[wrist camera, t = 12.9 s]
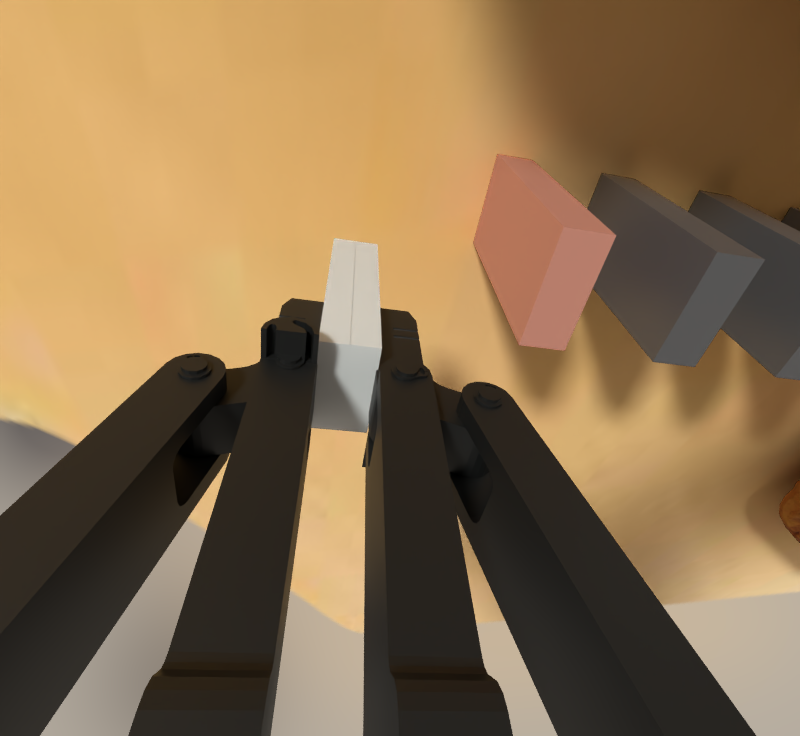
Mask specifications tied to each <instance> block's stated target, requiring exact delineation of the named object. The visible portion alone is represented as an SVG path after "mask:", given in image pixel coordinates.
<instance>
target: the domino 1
mask: <svg viewBox="0 0 800 736" xmlns="http://www.w3.org/2000/svg"><path fill="white" fill-rule="evenodd" d="M615 238H616V235H615V234H614V233H613V232H612V231H611V230H610V229H609V228H608V227H606V226H605V225H604V224H603V223H602V222H601V221H600V220H599V219H598V218H596V217H595V216H594V215H593V214H592V213H591V212H590V211H589V210H588V209H586V208H585V207H584V206H583V205H582V204H581V203H580V202H579V201H578V200H576V199H575V198H574V197H573V196H572V195H571V194H570V193H569V192H568V191H566V190H565V189H564V188H563V187H562V186H561V185H560V184H559V183H558V182H556V181H555V180H554V179H553V178H552V177H551V176H550V175H549V174H548V173H546V172H545V171H544V170H543V169H542V168H541V167H540V166H539V165H538V164H536V163H535V162H534V161H533V160H528V159H523V158H517V157H512V156H506V155H501V154H497V158H496V161H495V165H494V169H493V172H492V176H491V179H490V183H489V187H488V190H487V194H486V198H485V201H484V205H483V209H482V212H481V216H480V220H479V223H478V227H477V231H476V234H475V238H474V242H473V243H474V246H475V248H476V250H477V252H478V255H479V257H480V259H481V261H482V264H483V266H484V268H485V270H486V272H487V275H488V277H489V279H490V281H491V284H492V286H493V288H494V290H495V293H496V295H497V297H498V299H499V302H500V304H501V306H502V308H503V311H504V313H505V315H506V317H507V320H508V322H509V324H510V326H511V329H512V331H513V333H514V335H515V338H516V340H517V342H518V344H519V345H522V346H530V347H539V348H547V349H555V350H563V351H565V349H566V346H567V344H568V342H569V340H570V337H571V335H572V333H573V331H574V329H575V326H576V324H577V322H578V320H579V317H580V315H581V313H582V311H583V309H584V306H585V304H586V302H587V300H588V298H589V295H590V293H591V291H592V289H593V286H594V284H595V282H596V280H597V278H598V275H599V273H600V271H601V269H602V266H603V264H604V262H605V260H606V258H607V255H608V253H609V251H610V249H611V246H612V244H613V242H614V240H615Z"/></svg>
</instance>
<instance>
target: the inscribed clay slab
mask: <svg viewBox="0 0 800 736" xmlns="http://www.w3.org/2000/svg"><path fill="white" fill-rule="evenodd" d="M779 514H780V517H781V519H782V521H783V523H784V525H785V527H786V528H787V529H788V530H789V531H790V533H791V534H792V535H793V536H794V537H795V538H796V539H797V541H798V542H799V543H800V480H799V481H798V482H796V484H795V486H794V488H793V489H792V490H791V491H790V492H789V493H788V494H787V495H786V496H784V498H783V500H782V502H781V503H780V508H779Z"/></svg>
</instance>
